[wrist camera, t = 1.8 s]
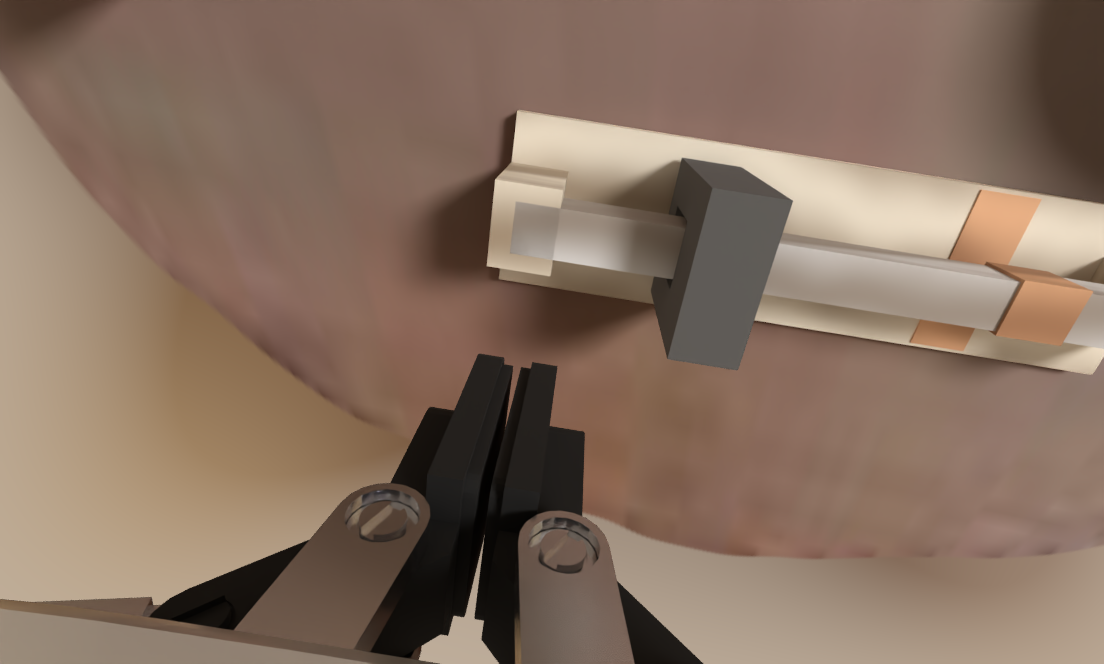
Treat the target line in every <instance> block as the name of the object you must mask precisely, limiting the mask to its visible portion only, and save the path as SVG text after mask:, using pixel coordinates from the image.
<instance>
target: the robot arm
mask: <svg viewBox="0 0 1104 664" xmlns="http://www.w3.org/2000/svg"><path fill="white" fill-rule="evenodd" d="M512 372H513V366H511V365H504V358H503V357H497V356H491V355H484V354H478V356H477V358H476V361H475V363H474V365H473V368H472V370H471V372H470V375H469V377H468V379H467V382H466V384H465V387H464V389H463V391H462V394H461V396H460V398H459V401H458V403H457V405H456V408H455V410H454V411H453V410H447V409H441V408H435V407H430V408H429V409H428V410H427V412H426V413H425V415H424V417H423V419H422V421H421V423H420V425H419V427H418V429H417V431H416V433H415V435H414V437H413V439H412V441H411V443H410V445H409V447H408V449H407V452H406V453H405V455H404V457H403V459H402V461H401V463H400V465H399V467H398V469H397V471H396V473H395V475H394V477H393V479H392V481H391V483H383V484H375V485H370V486H367V487H363V488H361V489H359V490H357V491H355V492H353V493H351V494H350V495H349V496H348V497H346V499H344V500H343V501H342V502H341V503H340V504H339V505H338V506H337V508H336V509H335V510H334V511H333V513H332V514H331V515H330V516H329V517H328V519H327V520H326V521H325V522H324V523H323V524H322V526H321V527H320V528H319V529H318V530H317V532H316V533H315V534H314V535H313V536H312V537H311V539H310V540H307V541H305V542H302V543H300V544H298V545H295V546H293V547H290V548H288V549H286V550H283V551H280V552H278V553H275V554H273V555H271V556H268V557H266V558H263V559H261V560H258V561H256V562H253V563H251V564H248V565H246V566H244V567H241V568H239V569H236V570H234V571H231V572H229V573H226V574H224V575H221V576H219V577H216V578H214V579H212V580H209V581H207V582H204V583H202V584H199V585H197V586H194V587H192V588H189V589H187V590H185V591H183V592H181V593H179V594H178V595H176V596H174V597H172V598H170V599H169V600H167V601H166V602H165V603H163V604H162V605H153V601H152V597H143V598H142V597H141V598H117V599H96V600H95V599H94V600H70V601H46V602H24V601H14V600H5V599H0V664H438V663H432V662H426V661H420V660H419V657H420V653H421V646H422V645H424V644H425V643H427V642H429V641H430V640H432V639H434V638H435V637H437V636H439V635H440V634H442V635H447V636H448V634H449V630H450V627H451V622H452V619H453V616H460V617H464V616H465V613H466V609H467V605H468V601H469V597H470V593H471V589H472V585H473V581H474V576H475V572H476V568H477V564H478V560H479V556H480V551H481V547H482V544H483V540H484V545H483V554H482V562H481V570H480V578H479V585H478V593H477V602H476V610H475V619H478V620H484V625H483V632H482V641H483V642H484V643H485V645H486V646H487V647H488V649H489V650H490V651H491V653H492V654H493V656H494V657H495V658H496V660H497V661H498V662H499V664H703V663H702V662H701V661H700V660H699V659H698V658H697V657H696V656H695V655H693V654H692V652H691V651H690V650H688V649H687V648H686V647H685V646H684V645H683V644H682V643H681V642H680V641H679V640H678V639H677V638H676V637H675V636H674V635H673V634H672V633H671V632H670V631H669V630H668V629H666V627H664V626H663V625H662V624H661V623H660V622H659V621H658V620H657V619H656V618H655V617H654V616H653V615H652V614H651V613H650V612H649V611H648V610H647V609H646V608H645V607H643V605H642V604H640V603H639V602H638V601H637V600H636V599H635V598H634V597H633V596H632V595H631V594H630V593H629V592H628V591H627V590H626V589H625V588H624V587H623V586H622V585H621V584H620V583H619V582H618V581H617V579H616V575H615V570H614V566H613V561H612V556H611V551H610V547H609V544H608V542H607V539H606V537H605V535H604V534H603V532H602V531H601V530H600V529H599V528H598V526H597V525H595V524H594V523H592V522H591V521H590V520H588V519H587V518H585V517H582V504H583V472H584V441H585V433H584V432H583V431H576V430H570V429H564V428H558V427H552V426H549V425H550V418H551V410H552V403H553V395H554V388H555V380H556V373H557V366H552V365H546V364H540V363H534V362H532V366H531V369H529V368H523V367H521V370H520V374H519V378H518V382H517V386H516V390H515V394H514V398H513V401H512V405H511V409H510V413H509V417H508V421H507V425H506V418H507V410H508V403H509V395H510V387H511V380H512ZM505 426H506V429H505ZM484 535H485V537H484Z"/></svg>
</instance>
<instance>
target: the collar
mask: <svg viewBox="0 0 1104 664" xmlns="http://www.w3.org/2000/svg"><path fill="white" fill-rule="evenodd" d="M792 203H793V200H791V199H790V198H788V197H787V196H785V195H783V194H782V193H780V192H779V191H777V190H776V189H774V188H773V187H771V186H770V185H768V184H767V183H765V182H764V181H762V180H760V179H759V178H757V177H756V176H754V175H753V174H751V173H750V172H748V171H747V170H745V169H744V168H742V167H738V166H732V165H726V164H720V163H713V162H707V161H701V160H695V159H688V158H682V159H681V163H680V168H679V172H678V176H677V180H676V185H675V189H674V193H673V197H672V202H671V206H670V210H669V215H675V216H682V217H685V219H686V220H687V225H686V229H685V233H684V237H683V241H682V245H681V249H680V253H679V257H678V261H677V265H676V269H675V273H674V277H673V279H667V278H661V277H655V276H654V278H653V283H652V287H651V294H652V298H653V302H654V306H655V310H656V315H657V319H658V323H659V327H660V331H661V335H662V339H663V343H664V347H665V351H666V355H667V359H670V360H676V361H682V362H689V363H695V364H701V365H707V366H713V367H720V368H726V369H732V370H738V368H739V365H740V362H741V359H742V356H743V353H744V350H745V347H746V344H747V341H748V338H749V335H750V332H751V329H752V326H753V322H754V319H755V316H756V313H757V310H758V307H759V304H760V301H761V298H762V295H763V292H764V289H765V286H766V283H767V280H768V277H769V274H770V271H771V267H772V264H773V261H774V258H775V255H776V252H777V249H778V246H779V243H780V240H781V237H782V234H783V231H784V228H785V225H786V222H787V219H788V216H789V212H790V209H791V206H792Z"/></svg>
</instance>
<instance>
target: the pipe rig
mask: <svg viewBox="0 0 1104 664" xmlns="http://www.w3.org/2000/svg"><path fill="white" fill-rule="evenodd" d="M682 158H688V159H695V160H701V161H707V162H713V163H720V164H726V165H732V166H738V167H742V168H744V169H745V170H747V171H748V172H750V173H751V174H753V175H754V176H756V177H757V178H759V179H760V180H762V181H764V182H765V183H767V184H768V185H770V186H771V187H773V188H774V189H776V190H777V191H779V192H780V193H782V194H783V195H785V196H787V197H788V198H790V199H791V200H793V203H792V206H791V209H790V212H789V216H788V219H787V222H786V225H785V228H784V231H783V234H782V237H781V240H780V243H779V246H778V249H777V252H776V255H775V258H774V261H773V264H772V267H771V271H770V274H769V277H768V280H767V283H766V286H765V289H764V292H763V295H762V298H761V301H760V304H759V307H758V310H757V313H756V316H755V319H754V320H755V321H762V322H768V323H774V324H780V325H786V326H793V327H799V328H805V329H811V330H817V331H824V332H830V333H836V334H842V335H848V336H855V337H861V338H867V339H873V340H879V341H886V342H892V343H898V344H904V345H910V346H917V347H923V348H929V349H935V350H941V351H948V352H954V353H960V354H966V355H972V356H979V357H985V358H991V359H997V360H1003V361H1010V362H1016V363H1022V364H1028V365H1034V366H1041V367H1047V368H1053V369H1059V370H1065V371H1072V372H1078V373H1084V374H1090V375H1092V374H1093V373H1094V371H1095V370H1096V368H1097V366H1098V365H1099V363H1100V362H1101V360H1102V359H1103V357H1104V203H1100V202H1093V201H1087V200H1081V199H1075V198H1068V197H1062V196H1056V195H1049V194H1043V193H1037V192H1031V191H1024V190H1018V189H1012V188H1006V187H999V186H993V185H987V184H981V183H974V182H968V181H962V180H956V179H949V178H943V177H937V176H931V175H924V174H918V173H912V172H905V171H899V170H893V169H887V168H880V167H874V166H868V165H862V164H855V163H849V162H843V161H837V160H830V159H824V158H818V157H812V156H805V155H799V154H793V153H787V152H780V151H774V150H768V149H761V148H755V147H749V146H743V145H736V144H730V143H724V142H718V141H711V140H705V139H699V138H693V137H686V136H680V135H674V134H668V133H661V132H655V131H649V130H642V129H636V128H630V127H624V126H617V125H611V124H605V123H599V122H592V121H586V120H580V119H574V118H567V117H561V116H555V115H549V114H542V113H536V112H530V111H524V110H518V111H517V118H516V127H515V136H514V145H513V154H512V162H511V163H510V164H509V165H508V167H507V168H506V169H505V170H504V171H503V172H502V173H501V174H500V175H499V176H498V177H497V178H496V179H495V187H494V197H493V207H492V217H491V227H490V237H489V248H488V258H487V266H489V267H495V268H500V273H499V279H501V280H508V281H514V282H520V283H526V284H532V285H539V286H545V287H551V288H557V289H563V290H570V291H576V292H582V293H588V294H594V295H601V296H607V297H613V298H619V299H625V300H631V301H638V302H644V303H650V304H654V302H653V298H652V294H651V287H652V283H653V278H654V276H655V277H661V278H667V279H673V277H674V273H675V269H676V265H677V261H678V257H679V253H680V249H681V245H682V241H683V237H684V233H685V229H686V225H687V220H686V219H685V217H682V216H675V215H669V210H670V206H671V202H672V197H673V193H674V189H675V185H676V180H677V176H678V172H679V168H680V163H681V159H682Z"/></svg>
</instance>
